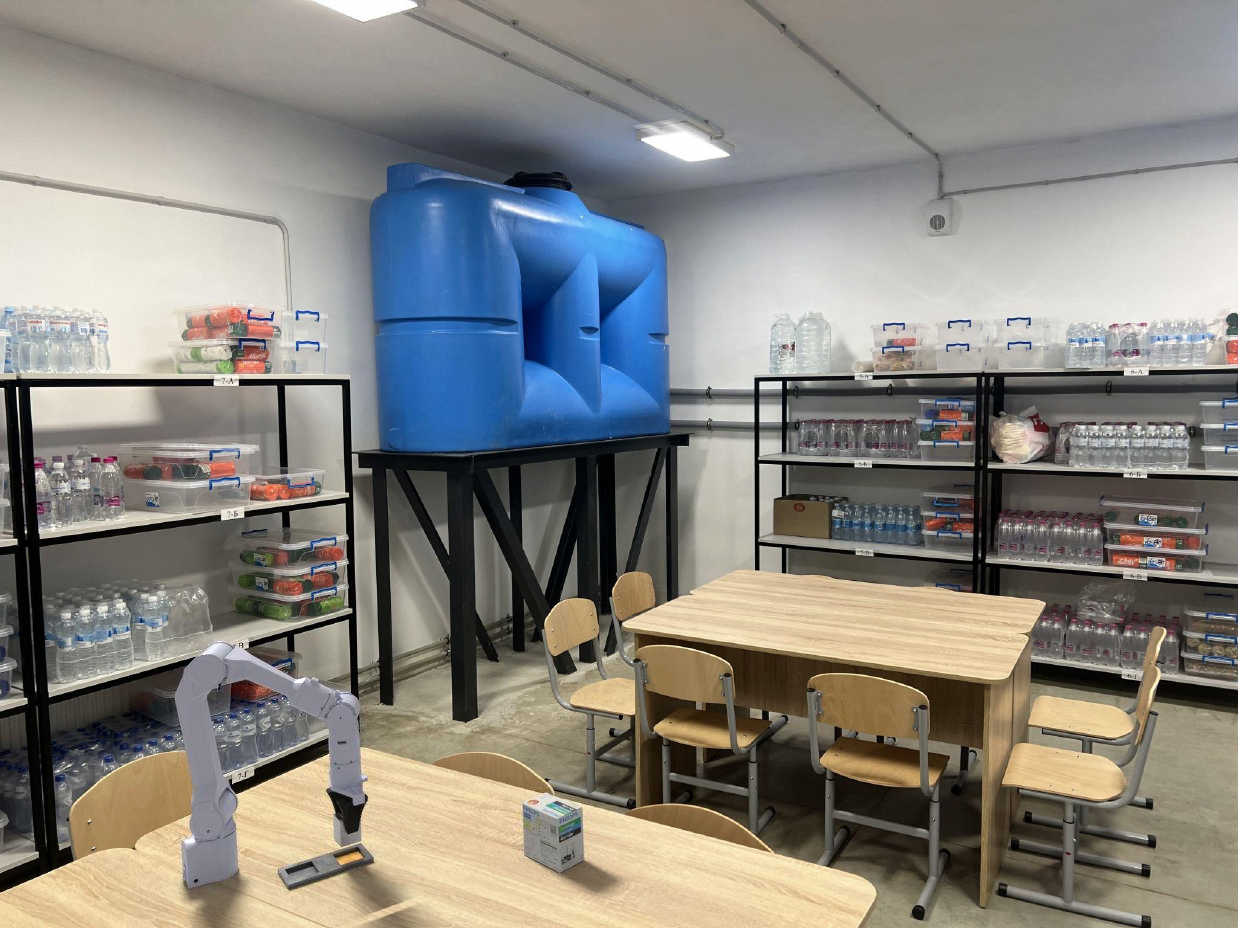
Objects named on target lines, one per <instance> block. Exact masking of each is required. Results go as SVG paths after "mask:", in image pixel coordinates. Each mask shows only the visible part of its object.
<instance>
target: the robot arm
mask: <svg viewBox="0 0 1238 928" xmlns="http://www.w3.org/2000/svg"><path fill="white" fill-rule="evenodd" d="M181 677H182V678H181V679H180V682H179V684H178V686H177V688H176V691H175V694H174V701H175V706H176V711H177V716H178V717H177V718H178V720H179V725H180V730H181V735H182V739H183V743H184V745H183V746H184V749H185V755H186V758H187V764H188V768H189V773H190V777H191V783H192V787H193V788H192V794H191V800H190V809H191V815H190V816H191V817H190V818H189V825H188V826H189V830H190V832H191V834H192V835H191V836H188V837H187V838H184V839H182V840H181V844H180V845H181V864H182V879H183V881H185V883H186V885H187V888H188V889H192V888H196V887H200V886H202V885H203V886H204V885H205V884H206V885H207V884H210V883H211V884H213V883H216V882H221V881H224V880H226V879H229V878H232V876H234V875H235V874H236V873H238V871H239V855H238V853H239V852H238V838H237V836H238V835H237V823H236V821H235V820H234V817H233V816H234V815H233V814H234V813H236V811H237V809H238V807H239V799H238V795H237V794H236V792H235V791H234V790H233V789H232V788H231V785H230V781H229V779H228V778H227V777H225V776H224V774H223V769H222V764H221V760H220V755H219V750H218V745H217V741H216V737H215V731H214V727H213V721H212V716H211V711H210V708H209V706H210V705H209V703H208V695H209V694H210V693H211V691H212V690H213V689H214V688H216V686H218V685H220V684H221V682H222V681H223V680H224V678H226V684H227V685H228V684H232V683H238V682H241V681H245V680H246V681H249V682H251V683H254V684H256V685H259V686H261V687H263V688H267V689H268V690H271V691H273V692H276V693H278V694H281V695H283V696H285V697H286V698H287V700H288V704H289V705H290V706H291V707H294V708H295V709H298V710H299V711H301V712H304V713H306V714H308V715H310V716H312V717H314V718H317V719H319V720H321V721H324V725H325V726H326V728H327V729H328V753H329V755H328V756H329V760H328V761H329V771H328V775H329V776H328V777H329V778H328V780H329V787H328V788H326V789H325V792H326V793H327V795H328V797H329V798H330V801H331V803H332V807H333V810H334V814H335V813H338V812H342V816H343V820H344V826H345V830H346V833H347V834H351V833H355V832H358V830H359V825H360V820H361V821H362V815H363V811H364V809H365V806H366V804H367V802H368V801H369V795H367V794H366V793H365V791H364V783H365V782H368V780H369V778H368V776H367V775H366V774H362V758H361V757H362V756H361V755H362V754H361V734H360V731H359V730H360V725H359V720H358V716H359V715H360V711H361V703H360V701H359V699H358V697H357V696H355V695H354V694H352V693H351V692H350V691H341V690H339V689H336V690H333V689H332V688H330V687H329V686H325V685H323V684H322V683H319V680H320V679H319V678H317V677H314V676H312V677H311V678H310V677H307V676H304V677H301V678H298V679H297V678H294V677H292V676H290V675H288V674H287V673H285V672H283V671H281V670H279V669H278V668H276V667H274V666H272V665H270V664H268V663H267V662H265V661H263V660H261V659H259V658H258V657H257V656H254V655H252V654H251V653H249V652H248V651H247V650H246V649H244V648H242V647H239V646H234V645H233V644H232V643H230V642H228V641H225V640H224V641H223V640H220V641H219V640H218V641H214V642H212V643H210V644H209V645H208V646H207V647H206V648H205V649H204V650H203V651H202V652H201V653H200V654H198V655H197V656H196V657H195V658H194V659H193V660H192V661H190V663H189V664H188V665H187V666H186V667H185V668H184V669H183V674H182V676H181ZM195 880H196V881H195Z"/></svg>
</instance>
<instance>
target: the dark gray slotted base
mask: <svg viewBox="0 0 1238 928" xmlns="http://www.w3.org/2000/svg"><path fill="white" fill-rule="evenodd" d="M374 861H375V858H374V856H373V855H372V853H371V852H370V851H369V850H368V849H367V848H366V846H364V845H363V844H362V843H361V842H358V843H357V844H356V843H355V844H352V845H349V846H346V847H345V848H340V849H338V850H334V851H330V852H327V853H325V854H322V855H318V856H315V857H312V858H309V859H304V860H301V861H299V862H296V863H293V864H289V865H286V866H282V867H279V868H277V874H278V876H279V877H280V879H281V880H282V882H283V884H284V885H285V887H286V888H287V890H290V889H294V888H297V887H300V886H303V885H307V884H310V883H312V882H316V881H319V880H322V879H324V878H328V877H331V876H334V875H337V874H340V873H343V872H346V871H348V870H352V869H356V868H358V867H361V866H364V865H367V864H371V863H373V862H374Z"/></svg>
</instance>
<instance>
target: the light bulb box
mask: <svg viewBox="0 0 1238 928" xmlns="http://www.w3.org/2000/svg"><path fill="white" fill-rule="evenodd" d="M521 803H522V826H523V827H522V828H523V829H522V830H523V831H522V832H523V854H524V855H523V856H525V857H528V858H530V859H532V860H534V861H536V862H538V863H540V864H542V865H544V866H546V867H548V868H550V869H551V870H553V871H556V872H558V873H559V874H560V873H563V872H565V871H566V870H568V869H570V868H571V867H574V866H575V865H577V864H579V863H581V862H583V861H585V847H584V846H585V843H584V842H585V841H584V818H583V817H584V814H583V807H582V806H580V805H578V804H575V803H572V802H570V801H568V800H565V799H562V798H561V797H558V796H555V795H553V794H551V793H549V792H544V793H542V794H539V795H537V796H535V797H532V798H530V799H527V800H525V801H523V802H521Z"/></svg>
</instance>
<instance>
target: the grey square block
mask: <svg viewBox="0 0 1238 928" xmlns="http://www.w3.org/2000/svg"><path fill="white" fill-rule="evenodd" d="M332 820H333V821H332V823H333V839H334V841H335V842H336V844H337V845H338V846H339V847H340V848H342V847H348V846H351V845H354V844H356V843H357V844H358V843H361V842H362V839H363V838H362V819H361V820H360V825H359V830H358V832H355V833H351V834H347V833H346V830H345V826H344V820H343V816H342V812H338V813H335V812H334V813H333V814H332Z"/></svg>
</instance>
